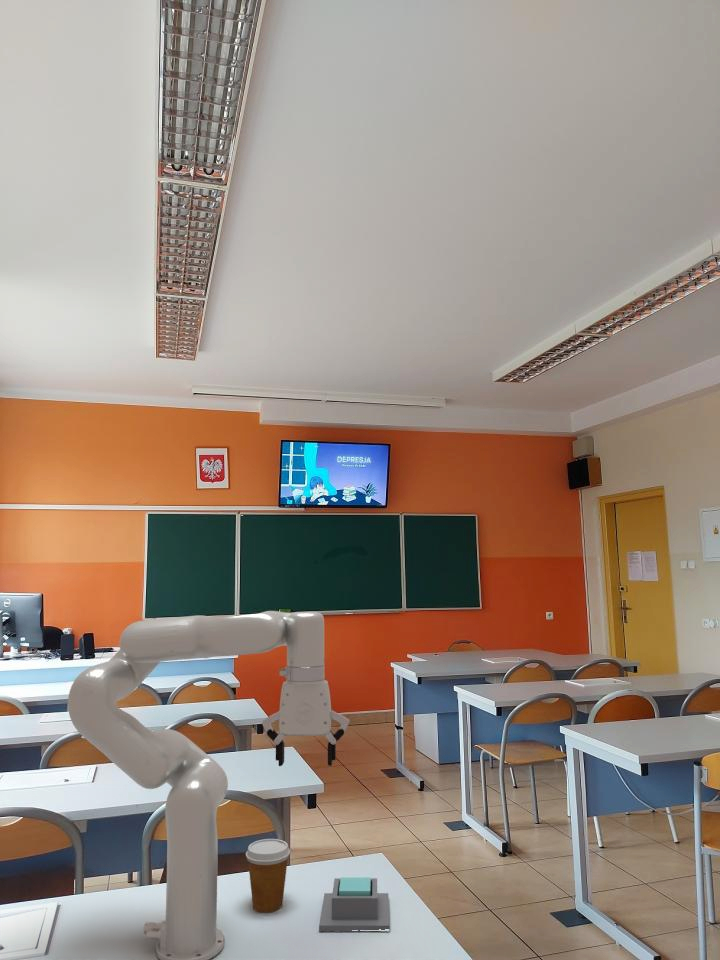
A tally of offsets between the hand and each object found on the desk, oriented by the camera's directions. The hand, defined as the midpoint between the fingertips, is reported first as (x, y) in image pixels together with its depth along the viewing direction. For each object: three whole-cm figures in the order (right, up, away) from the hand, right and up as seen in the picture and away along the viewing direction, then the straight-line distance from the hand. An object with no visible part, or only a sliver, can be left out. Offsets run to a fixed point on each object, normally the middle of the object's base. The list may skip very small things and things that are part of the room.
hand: (305, 764), depth 134 cm
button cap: (+10, -33, +8) cm, 35 cm away
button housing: (+10, -35, +8) cm, 37 cm away
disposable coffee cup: (-9, -36, +12) cm, 39 cm away
